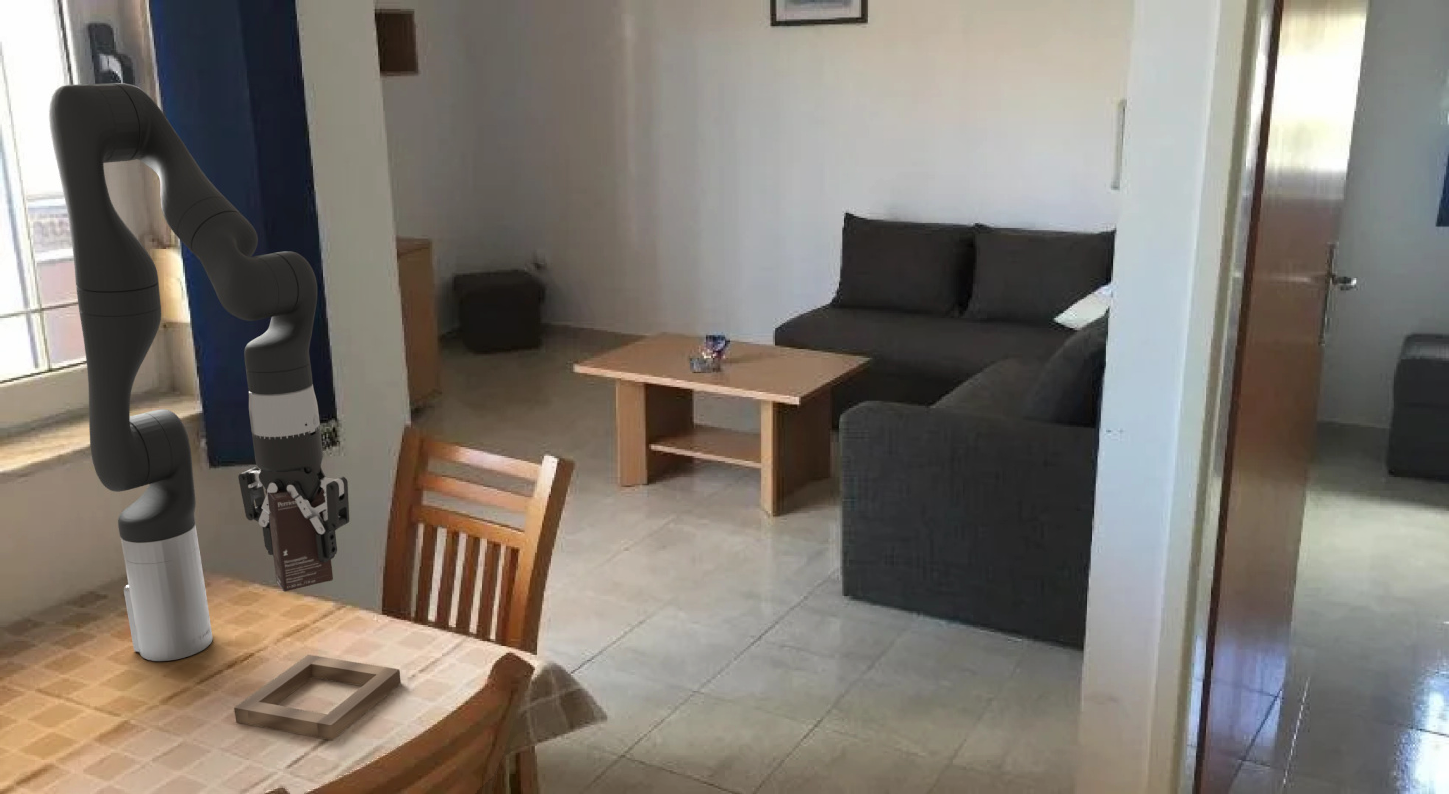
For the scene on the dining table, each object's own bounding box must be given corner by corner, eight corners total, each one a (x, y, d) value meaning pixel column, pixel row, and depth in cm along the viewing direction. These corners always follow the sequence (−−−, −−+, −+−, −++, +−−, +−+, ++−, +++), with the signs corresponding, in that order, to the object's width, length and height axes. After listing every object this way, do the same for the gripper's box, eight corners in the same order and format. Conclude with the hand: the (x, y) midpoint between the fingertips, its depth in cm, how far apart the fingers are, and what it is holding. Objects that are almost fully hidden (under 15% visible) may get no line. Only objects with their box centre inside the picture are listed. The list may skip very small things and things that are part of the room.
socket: (235, 722, 143) (233, 707, 143) (309, 668, 156) (308, 654, 156) (332, 740, 139) (331, 725, 138) (400, 683, 152) (399, 669, 151)
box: (285, 594, 140) (272, 499, 137) (275, 581, 143) (263, 488, 140) (336, 581, 143) (325, 488, 140) (325, 569, 147) (314, 478, 143)
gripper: (212, 429, 137) (231, 562, 141) (316, 439, 132) (333, 575, 137) (256, 411, 144) (273, 538, 148) (357, 420, 139) (371, 551, 143)
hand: (302, 556), depth 142 cm, fingers closed on box, 6 cm apart
